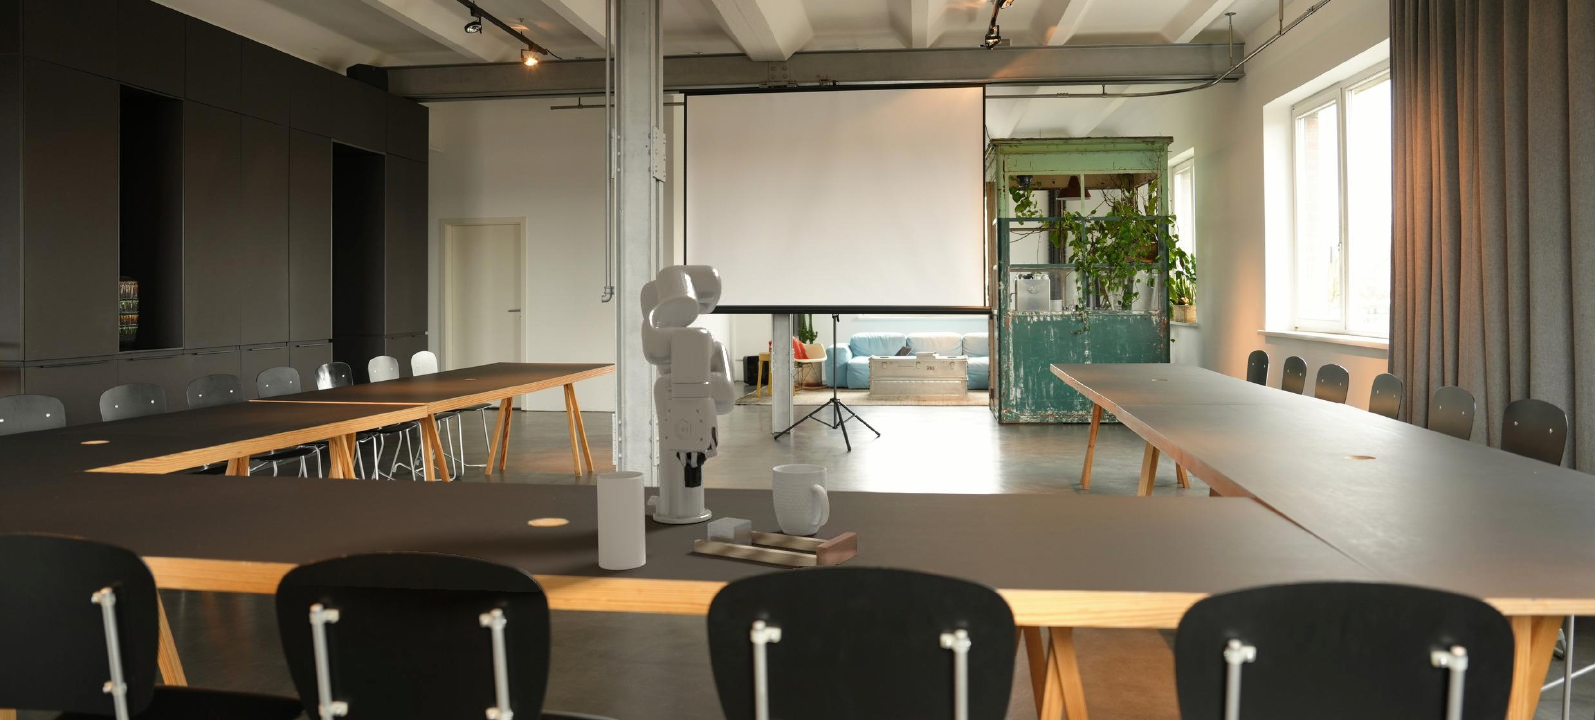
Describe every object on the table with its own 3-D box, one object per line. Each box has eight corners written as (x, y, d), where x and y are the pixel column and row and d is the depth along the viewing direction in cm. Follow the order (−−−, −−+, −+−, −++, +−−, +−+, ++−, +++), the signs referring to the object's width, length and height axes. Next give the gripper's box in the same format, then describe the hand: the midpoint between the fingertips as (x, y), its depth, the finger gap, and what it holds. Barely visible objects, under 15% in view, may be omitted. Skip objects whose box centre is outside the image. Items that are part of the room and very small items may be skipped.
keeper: (707, 549, 181) (707, 523, 181) (725, 542, 186) (725, 516, 186) (734, 553, 178) (733, 526, 178) (751, 545, 183) (751, 520, 183)
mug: (849, 537, 189) (849, 471, 188) (803, 545, 183) (802, 477, 182) (807, 523, 201) (806, 461, 201) (762, 530, 195) (761, 467, 194)
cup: (601, 558, 175) (599, 471, 174) (647, 556, 176) (645, 470, 175) (596, 570, 167) (594, 479, 166) (643, 569, 167) (642, 478, 167)
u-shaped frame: (694, 551, 179) (693, 530, 179) (729, 537, 189) (729, 517, 189) (826, 570, 165) (826, 547, 165) (857, 554, 176) (857, 533, 175)
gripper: (648, 392, 185) (650, 486, 186) (712, 393, 178) (713, 492, 178) (671, 390, 192) (673, 481, 192) (734, 391, 184) (736, 486, 185)
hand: (693, 486), depth 185 cm, fingers closed
